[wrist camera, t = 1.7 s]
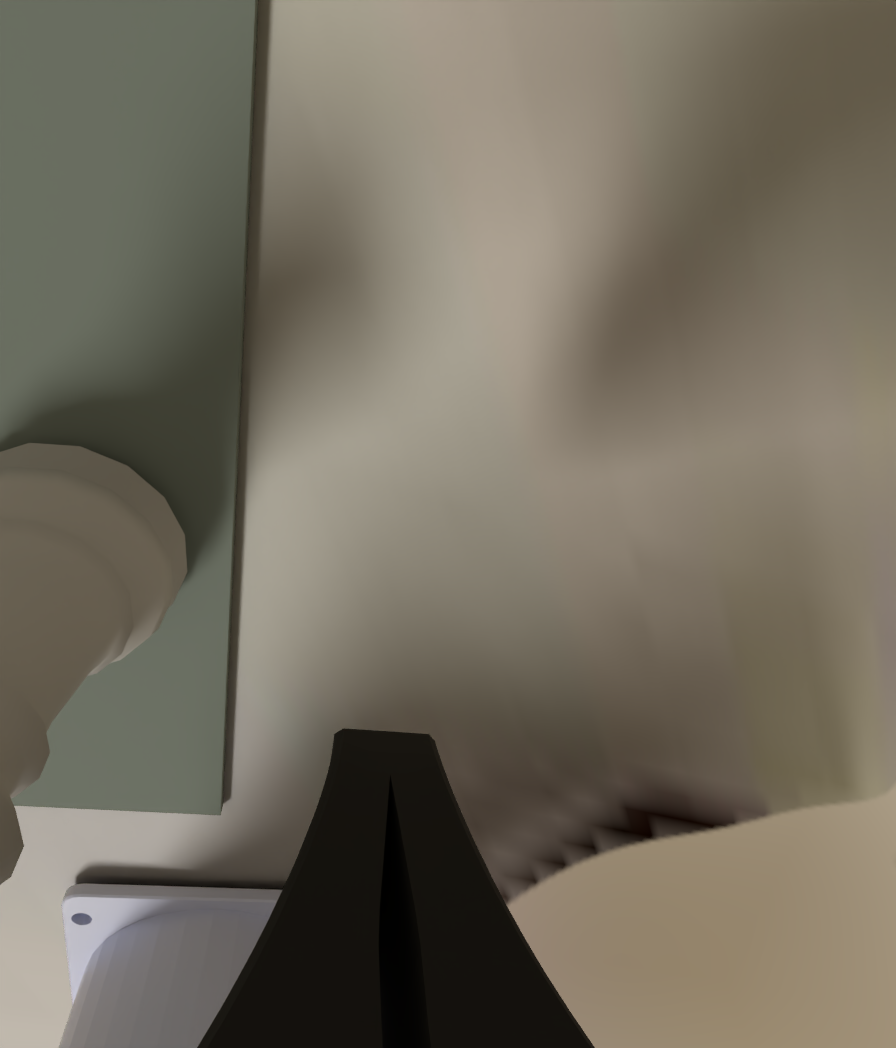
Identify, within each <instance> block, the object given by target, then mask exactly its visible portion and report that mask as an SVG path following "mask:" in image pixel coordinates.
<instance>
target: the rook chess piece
mask: <svg viewBox="0 0 896 1048" xmlns="http://www.w3.org/2000/svg"><path fill="white" fill-rule="evenodd" d="M186 574H187V559H186V544H185V534H184V532H183V530H182V528H181V527H180V525H179V523H178V521H177V519H176V517H175V516H174V514H173V512H172V510H171V508H170V506H169V505H168V503H167V501H166V499H165V497H164V496H162V495H161V494H160V493H159V492H158V491H157V490H155V489H154V488H153V487H152V486H151V485H150V484H148V483H147V482H146V481H145V480H144V479H143V478H142V477H140V476H139V475H138V474H137V473H136V472H135V471H133V470H132V469H131V468H130V467H129V466H127V465H125V464H122V463H120V462H117V461H115V460H113V459H110V458H108V457H105V456H103V455H100V454H98V453H95V452H93V451H91V450H88V449H86V448H83V447H81V446H70V445H55V444H39V443H27V444H24V445H21V446H18V447H14V448H11V449H8V450H5V451H2V452H0V884H2V883H3V882H4V881H6V880H7V879H9V878H10V877H11V875H12V873H13V871H14V868H15V866H16V863H17V861H18V859H19V856H20V854H21V852H22V849H23V847H24V844H23V840H22V836H21V832H20V827H19V823H18V819H17V815H16V810H15V808H14V805H13V802H12V800H11V798H13V797H15V796H17V795H18V794H19V793H21V792H22V791H23V790H25V789H26V788H27V787H28V786H30V785H31V784H32V783H34V782H35V781H36V780H38V779H39V778H40V776H41V773H42V771H43V769H44V766H45V764H46V761H47V759H48V756H49V754H50V749H49V744H48V739H47V734H46V733H47V731H48V729H49V727H50V725H51V723H52V721H53V720H54V719H55V717H56V716H57V715H58V713H59V712H60V711H61V709H62V708H63V707H64V706H65V704H66V703H67V702H68V700H69V699H70V698H71V696H72V695H73V694H74V693H75V691H76V690H77V689H78V687H79V686H80V685H81V683H82V682H83V681H84V680H85V678H86V677H87V676H90V675H93V674H97V673H98V672H99V671H101V670H102V669H103V668H105V667H106V666H107V665H108V664H110V663H112V662H116V661H119V660H121V659H123V658H124V657H125V656H126V655H128V654H129V653H130V652H131V651H133V650H134V649H135V648H136V647H138V646H139V645H140V644H141V643H143V642H144V641H145V640H147V639H148V638H149V637H150V636H151V635H152V634H153V633H154V632H155V631H156V630H157V629H159V627H160V625H161V623H162V620H163V618H164V616H165V614H166V612H167V609H168V607H170V606H171V605H172V604H173V602H174V600H175V598H176V596H177V594H178V591H179V589H180V587H181V585H182V583H183V580H184V578H185V576H186Z"/></svg>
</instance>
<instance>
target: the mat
mask: <svg viewBox="0 0 896 1048" xmlns="http://www.w3.org/2000/svg"><path fill="white" fill-rule="evenodd" d="M257 15H258V0H0V452H2V451H5V450H8V449H11V448H14V447H18V446H21V445H24V444H27V443H39V444H55V445H70V446H81V447H83V448H86V449H88V450H91V451H93V452H95V453H98V454H100V455H103V456H105V457H108V458H110V459H113V460H115V461H117V462H120V463H122V464H125V465H127V466H129V467H130V468H131V469H132V470H133V471H135V472H136V473H137V474H138V475H139V476H140V477H142V478H143V479H144V480H145V481H146V482H147V483H148V484H150V485H151V486H152V487H153V488H154V489H155V490H157V491H158V492H159V493H160V494H161V495H162V496H164V497H165V499H166V501H167V503H168V505H169V506H170V508H171V510H172V512H173V514H174V516H175V517H176V519H177V521H178V523H179V525H180V527H181V528H182V530H183V532H184V534H185V544H186V559H187V574H186V576H185V578H184V580H183V583H182V585H181V587H180V589H179V591H178V594H177V596H176V598H175V600H174V602H173V604H172V605H171V606H170V607H168V609H167V612H166V614H165V616H164V618H163V620H162V623H161V625H160V627H159V629H157V630H156V631H155V632H154V633H153V634H152V635H151V636H150V637H149V638H148V639H147V640H145V641H144V642H143V643H141V644H140V645H139V646H138V647H136V648H135V649H134V650H133V651H131V652H130V653H129V654H128V655H126V656H125V657H124V658H123V659H121V660H119V661H116V662H112V663H110V664H108V665H107V666H106V667H105V668H103V669H102V670H101V671H99V672H98V673H97V674H93V675H90V676H87V677H86V678H85V680H84V681H83V682H82V683H81V685H80V686H79V687H78V689H77V690H76V691H75V693H74V694H73V695H72V696H71V698H70V699H69V700H68V702H67V703H66V704H65V706H64V707H63V708H62V709H61V711H60V712H59V713H58V715H57V716H56V717H55V719H54V720H53V721H52V723H51V725H50V727H49V729H48V731H47V733H46V734H47V739H48V744H49V749H50V754H49V756H48V759H47V761H46V764H45V766H44V769H43V771H42V773H41V776H40V778H39V779H38V780H36V781H35V782H34V783H32V784H31V785H30V786H28V787H27V788H26V789H25V790H23V791H22V792H21V793H19V794H18V795H17V796H15V797H13V798H11V800H12V802H13V805H14V806H35V807H56V808H77V809H98V810H120V811H141V812H162V813H183V814H205V815H221V811H222V806H223V784H224V762H225V739H226V717H227V694H228V671H229V649H230V626H231V603H232V581H233V558H234V535H235V513H236V490H237V468H238V445H239V422H240V400H241V377H242V354H243V332H244V309H245V286H246V264H247V241H248V219H249V196H250V173H251V151H252V128H253V105H254V83H255V60H256V38H257Z"/></svg>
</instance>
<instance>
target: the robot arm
mask: <svg viewBox="0 0 896 1048" xmlns="http://www.w3.org/2000/svg"><path fill="white" fill-rule="evenodd" d="M61 906H62V915H63V924H64V933H65V942H66V951H67V960H68V969H69V978H70V987H71V996H72V1005H73V1006H72V1009H71V1012H70V1015H69V1018H68V1021H67V1024H66V1027H65V1030H64V1033H63V1036H62V1039H61V1042H60V1045H59V1048H594V1046H593V1045H592V1043H591V1041H590V1040H589V1039H588V1037H587V1036H586V1034H585V1033H584V1031H583V1030H582V1028H581V1027H580V1025H579V1024H578V1022H577V1021H576V1020H575V1018H574V1017H573V1015H572V1014H571V1012H570V1011H569V1009H568V1008H567V1006H566V1004H565V1003H564V1001H563V1000H562V998H561V997H560V995H559V994H558V992H557V991H556V989H555V988H554V986H553V984H552V983H551V981H550V980H549V978H548V977H547V975H546V973H545V972H544V970H543V968H542V967H541V965H540V963H539V962H538V960H537V959H536V957H535V955H534V953H533V952H532V950H531V948H530V946H529V945H528V943H527V942H526V940H525V938H524V936H523V934H522V933H521V931H520V929H519V927H518V925H517V924H516V922H515V920H514V918H513V917H512V915H511V913H510V911H509V909H508V907H507V906H506V904H505V902H504V900H503V898H502V896H501V894H500V892H499V890H498V888H497V887H496V885H495V883H494V881H493V879H492V877H491V875H490V873H489V871H488V869H487V867H486V864H485V862H484V860H483V858H482V856H481V854H480V852H479V850H478V848H477V846H476V844H475V842H474V840H473V838H472V836H471V833H470V831H469V829H468V827H467V824H466V822H465V820H464V818H463V815H462V813H461V811H460V808H459V806H458V803H457V801H456V799H455V796H454V794H453V791H452V789H451V786H450V784H449V781H448V779H447V776H446V773H445V771H444V768H443V765H442V762H441V759H440V756H439V753H438V750H437V747H436V744H435V741H434V740H433V739H432V737H431V736H430V735H429V734H417V733H402V732H387V731H372V730H357V729H342V730H340V731H339V732H337V733H336V734H334V742H333V749H332V756H331V762H330V766H329V770H328V774H327V778H326V781H325V785H324V788H323V791H322V794H321V797H320V800H319V803H318V806H317V809H316V812H315V814H314V817H313V819H312V822H311V824H310V827H309V829H308V832H307V834H306V837H305V840H304V842H303V845H302V847H301V850H300V852H299V855H298V857H297V859H296V862H295V864H294V866H293V869H292V871H291V873H290V875H289V877H288V879H287V881H286V883H285V886H284V888H283V890H275V889H244V888H213V887H182V886H151V885H121V884H90V883H83V884H76V885H74V886H71V887H70V888H69V889H68V890H67V891H66V893H65V896H64V898H63V901H62V905H61Z"/></svg>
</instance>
